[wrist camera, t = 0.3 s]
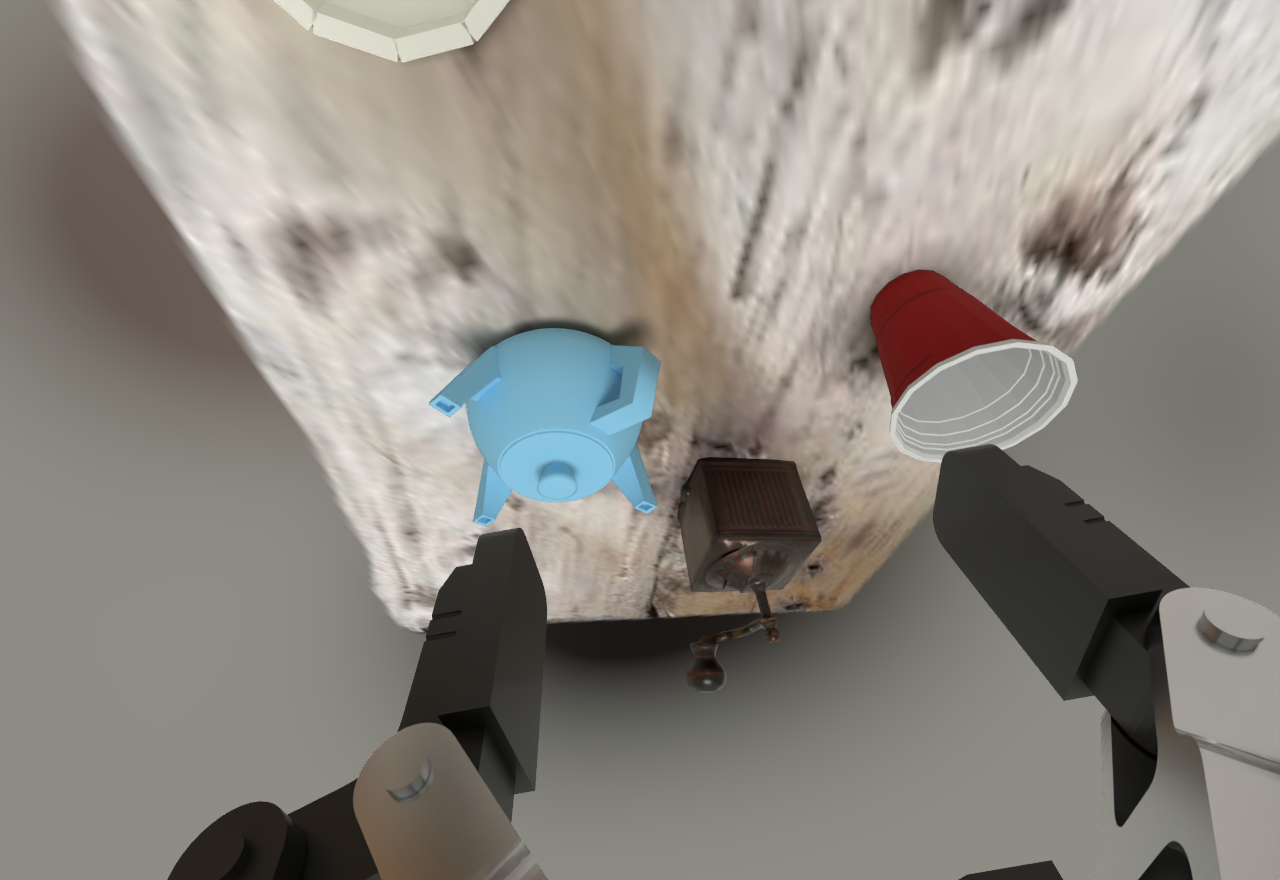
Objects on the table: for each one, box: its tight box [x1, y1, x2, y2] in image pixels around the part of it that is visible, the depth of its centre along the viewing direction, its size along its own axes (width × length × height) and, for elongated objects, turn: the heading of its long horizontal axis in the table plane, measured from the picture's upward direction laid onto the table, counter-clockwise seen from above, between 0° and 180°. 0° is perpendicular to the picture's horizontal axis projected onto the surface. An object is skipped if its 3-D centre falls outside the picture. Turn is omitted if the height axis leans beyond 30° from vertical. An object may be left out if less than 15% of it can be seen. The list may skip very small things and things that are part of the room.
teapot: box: [429, 328, 661, 526], centre depth 42 cm, size 15×15×11 cm
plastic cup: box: [871, 270, 1078, 462], centre depth 39 cm, size 11×11×12 cm
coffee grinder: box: [678, 458, 821, 693], centre depth 55 cm, size 16×11×18 cm
